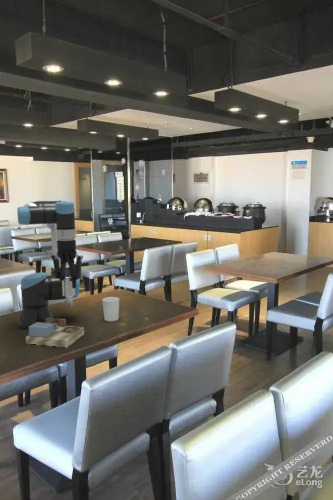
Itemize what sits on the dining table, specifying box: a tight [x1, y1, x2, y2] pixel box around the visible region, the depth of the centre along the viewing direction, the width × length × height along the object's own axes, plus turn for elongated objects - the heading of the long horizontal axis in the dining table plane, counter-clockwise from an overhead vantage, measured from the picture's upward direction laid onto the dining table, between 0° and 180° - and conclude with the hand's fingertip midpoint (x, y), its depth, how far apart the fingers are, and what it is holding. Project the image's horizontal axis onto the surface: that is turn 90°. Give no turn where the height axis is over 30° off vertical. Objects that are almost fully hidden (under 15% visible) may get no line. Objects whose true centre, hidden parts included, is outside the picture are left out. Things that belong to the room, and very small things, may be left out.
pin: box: [64, 277, 74, 308], centre depth 170 cm, size 3×3×12 cm
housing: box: [28, 322, 54, 337], centre depth 167 cm, size 8×6×4 cm
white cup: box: [102, 296, 120, 322], centre depth 195 cm, size 8×8×10 cm
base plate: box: [25, 317, 85, 349], centre depth 171 cm, size 18×16×6 cm
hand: (68, 295), depth 170 cm, fingers closed on pin, 3 cm apart
